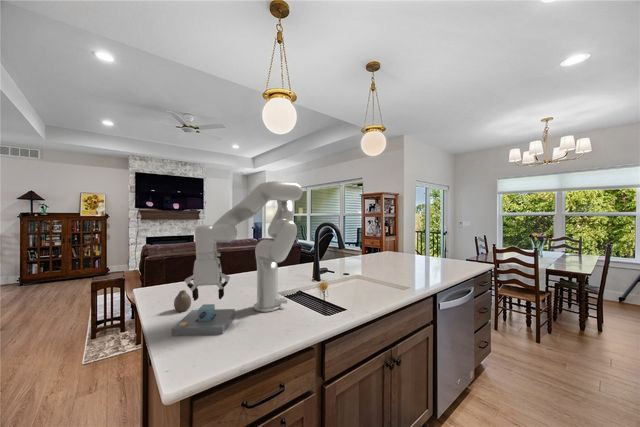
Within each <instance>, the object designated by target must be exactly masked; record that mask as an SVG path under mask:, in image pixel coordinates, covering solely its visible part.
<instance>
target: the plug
mask: <svg viewBox="0 0 640 427" xmlns="http://www.w3.org/2000/svg"><path fill="white" fill-rule="evenodd" d="M215 306H216V305H215V303H213V304H207V303H206V304H205V303H204V304H202V305H201V306H200V307H199V308H198V309H197V310H198V322H206V321H212V320H213V318H214V317H215V309H216V307H215Z"/></svg>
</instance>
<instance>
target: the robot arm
mask: <svg viewBox="0 0 640 427" xmlns="http://www.w3.org/2000/svg"><path fill="white" fill-rule="evenodd" d="M302 196H303V188H302V187H301V185H300V184H299V183H296V182H290V181H289V182H288V181H287V182H286V181H267V182H261V183H259V184H258V185H256V186H255V187H254V189H252V191H250V192H249V193H248V194H247V195H246V196H245V197H244V198H243V199H242V200H241V201H240V202H239V203H238V204H236V205H234V207H232V208H231V209H229V210H227V211H226V212H225V213H224V214H222V216H221V217H219V218H218V219H217V220H216V221H215V222H214V223H213V225H212V224H207V225H205V224H204V225H198V226H195V229H194V234H195V236H194V237H195V256H196V257H195V258H196V259H195V260H194V263H193V270H192V273H193V274H192V275H190V276H188V277H187V278H185V279H184V282H185V284H186V286H187V287H188V288H189V289H190V291H191V292H192V293H191V294H192V296H191V297H192V299H193V301H197V300H198V299H199V288H198V287H202V286H217V287H218V288H219V289H218V291H217V293H218V300H222V298H223V297H224V296H225V290H224V289H225V287H226V286H227V285H228V283H229V281H230V280H231V277H230V276H229V275H228V274H225V273H222V265H221V260H220V258H218V257H221V252H218V250H217V243H230V242H233V241H234V240H235V239H236V238H237V237H238V230H237V227H236V226H238V225H239V224H240V223H243V222H244V221H247V220H249V219H252V218H253V217H255V216H256V215H257V214H258V213H259V212H260V211H261V210H262V209H263V208H264V206H266V205H267V203H268V202H270V201H276V202H277V209H276V211H275V213H274V216H273V217H272V219H271V222H270V224H269V226H268V228H267V234H268V236H269V237H270V238H271V239H263V240H260V241H259V242H257V244H256V246H255V251H254V253H255V260H256V303H254V304H253V309H254V311H257V312H261V313H264V312H265V313H266V312H267V313H268V312H269V313H270V312H273V311H278V310H279V309H281V307H282V304H285V305H286V304H288V299H286V298H285V297H284V298H282V297H280V295H279V294H278V293H279V292H278V289H279V288H278V286H279V285H278V284H279V282H278V279H279V278H278V273H279V271H278V270H279V269H278V268H279V267H278V264H280V263H282V262H284V261H285V260H286V259H287V257H288V255H289V253H290V251H291V249H292V247H293V245H294V242H295V240H296V238H297V234H298V227H297V224H296V223H295V222H294V221H293V220H292V219H293V218H294V214H295V207H294V204H293V202H296V201H298V200H300V199H301V198H302ZM223 279H224V282H222V281H223ZM191 281H192V282H191Z"/></svg>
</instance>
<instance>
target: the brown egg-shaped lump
mask: <svg viewBox="0 0 640 427" xmlns="http://www.w3.org/2000/svg"><path fill="white" fill-rule="evenodd" d="M191 304H192V298H191V296H190V295H189V294H188V293H187V291H186V290H185V289H184V290H183V289H182V290H180V291H179V293H178V294H177V295H176V296H175V298H174V301H173V307H174V310H175V311H177V312H178V313H183V312H186V311H188V310H189V309H190V307H191Z"/></svg>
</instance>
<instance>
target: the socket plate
mask: <svg viewBox="0 0 640 427" xmlns="http://www.w3.org/2000/svg"><path fill="white" fill-rule="evenodd" d="M235 314H236V309H235V308H224V309H221V308H220V309H219V308H218V309H216V308H215V317H214V318H213V320H212V321H206V322H198V309H192V310H191V311H189V312H188V313H187V314H186V315H184V317H183V318H182V319H181V320H179V321H178V322H177V323H176V324H175V325H174V326H173V327H171V336H172V335H173V336H198V335H199V334H203V335H223V334H224V332H225V331H226V329H227V327H228V326H229V325H230V323H231V322H232V320H233V318H234V317H235ZM197 334H198V335H197ZM199 336H200V335H199Z"/></svg>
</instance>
